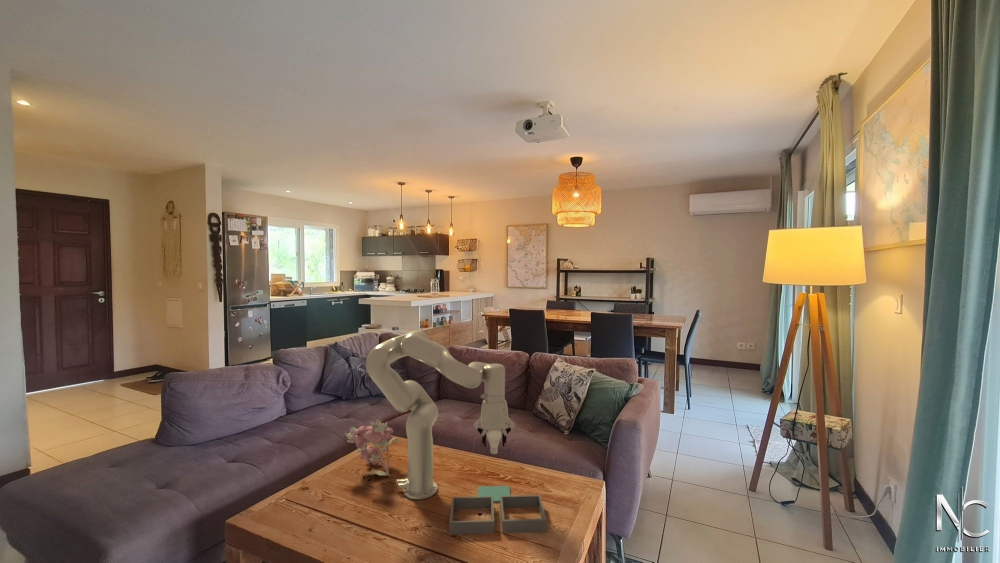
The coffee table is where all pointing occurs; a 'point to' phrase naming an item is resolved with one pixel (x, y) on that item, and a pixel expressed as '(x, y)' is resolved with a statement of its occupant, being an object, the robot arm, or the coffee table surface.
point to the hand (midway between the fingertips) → (494, 444)
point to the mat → (494, 492)
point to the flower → (379, 439)
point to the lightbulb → (494, 439)
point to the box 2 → (523, 524)
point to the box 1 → (471, 526)
